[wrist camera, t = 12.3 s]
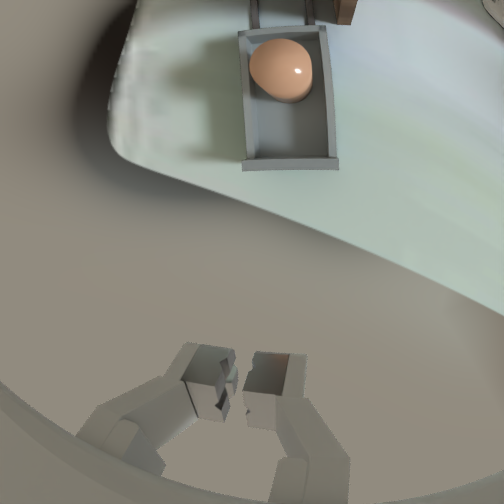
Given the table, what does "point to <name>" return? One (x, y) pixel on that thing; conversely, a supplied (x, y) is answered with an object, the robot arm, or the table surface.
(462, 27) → the table surface
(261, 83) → the peach cylinder
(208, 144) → the table surface
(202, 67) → the table surface
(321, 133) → the tray
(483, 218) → the table surface
